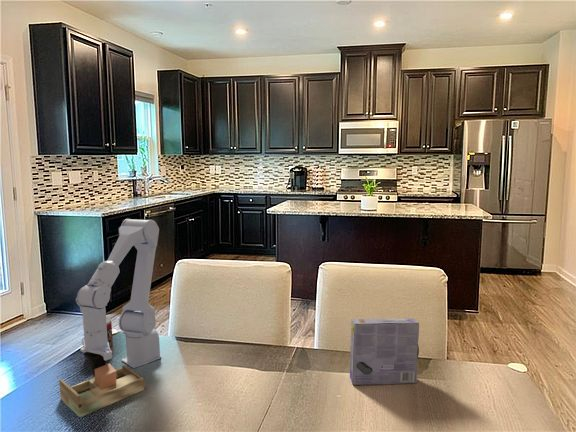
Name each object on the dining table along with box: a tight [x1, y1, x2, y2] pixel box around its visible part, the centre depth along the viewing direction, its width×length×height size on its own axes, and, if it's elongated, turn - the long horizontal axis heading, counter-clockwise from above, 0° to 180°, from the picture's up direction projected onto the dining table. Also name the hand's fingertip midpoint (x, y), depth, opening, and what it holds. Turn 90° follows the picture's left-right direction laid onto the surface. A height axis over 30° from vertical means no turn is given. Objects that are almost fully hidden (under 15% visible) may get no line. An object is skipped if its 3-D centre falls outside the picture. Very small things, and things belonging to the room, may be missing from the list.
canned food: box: [106, 316, 114, 353], centre depth 141 cm, size 8×8×11 cm
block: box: [94, 363, 117, 390], centre depth 117 cm, size 4×4×4 cm
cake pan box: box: [349, 317, 420, 386], centre depth 122 cm, size 19×5×18 cm, turn 94°
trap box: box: [58, 364, 147, 418], centre depth 117 cm, size 18×12×5 cm
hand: (98, 376), depth 120 cm, fingers closed
